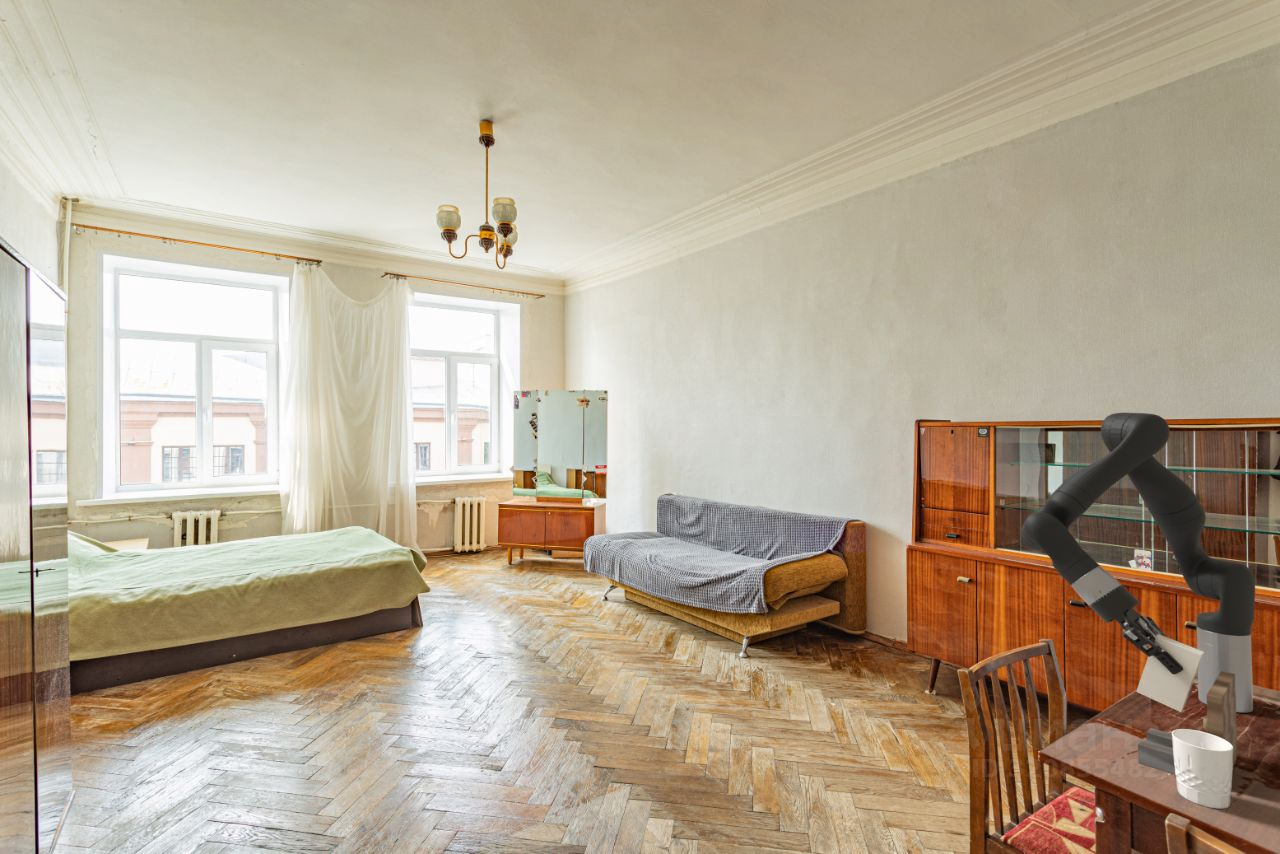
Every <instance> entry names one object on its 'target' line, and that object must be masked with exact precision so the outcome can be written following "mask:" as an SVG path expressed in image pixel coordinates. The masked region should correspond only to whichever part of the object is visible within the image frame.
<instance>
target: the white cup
mask: <svg viewBox="0 0 1280 854" xmlns="http://www.w3.org/2000/svg"><path fill="white" fill-rule="evenodd" d="M1171 734H1172V743H1173V756H1174V765H1175V774H1174V775H1175V776H1176V777H1175V779H1176V791H1178V793H1179V795H1180V796H1182V797H1183V798H1185V799H1186V800H1187V801H1190V802H1191V803H1195V804H1197V805H1199V806H1202V807H1207V808H1211V809H1219V810H1220V809H1221V810H1222V809H1227V808H1229V807H1230V805H1231V791H1232V785H1233V783H1232V782H1233V769H1234V766H1233V746H1232V744H1230V743H1229V742H1228V741H1226V740H1224V739H1222V738H1220V737H1218V736H1215V735H1212V734H1209V733H1208V732H1205V731H1201V730H1196V729H1187V728H1178V729H1177V728H1176V729H1174V730H1172V731H1171Z"/></svg>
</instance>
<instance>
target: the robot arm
mask: <svg viewBox="0 0 1280 854" xmlns="http://www.w3.org/2000/svg"><path fill="white" fill-rule="evenodd" d="M1170 430H1171V429H1170V426H1169V423H1168V421H1166V419H1164V418H1163V417H1162V416H1160V415H1157V414H1154V413H1147V412H1115V413H1112V414H1109V415H1108V416H1106V417H1105V418H1104V419H1103V421H1102V423H1101V425H1100V436H1101V439H1102V441H1103V443H1104V445H1105V446H1106V448H1107V450H1108V451H1109V453H1107V454H1106V455H1105V456H1103V457H1102V458H1099V459H1098V460H1096V461H1094V462H1092V463H1091V464H1089V465H1086V466H1085V467H1083V468H1081V469H1079V470H1077V471H1076V472H1074V473H1073V474H1071V475H1070V476H1068V477H1067V478H1066V479H1065V480H1064V481H1063V482H1062V483H1061V484H1060V485H1059V486H1058V487H1057V488H1056V489H1055V491H1053V492H1052V493H1051V495H1050V496H1049V497H1048V499H1047V500H1046V502H1045V503H1044V505H1043V506H1041V508H1040V509H1039V510H1037V512H1033V513H1031V514H1030V515H1028V516H1027V517H1026V519H1025V521H1024V522H1023V524H1022V526H1021V529H1020V538H1021V541H1022V543H1023V544H1024V545H1025V546H1026V547H1028V548H1030V549H1031V550H1034V551H1043V552H1044V553H1045V554H1046V555H1047V556H1048V557H1049V558H1050V559H1051V562H1052V563H1051V564H1052V566H1053V568H1054V569H1055V570H1056V573H1058V574H1059V575H1060V576H1061V577H1062V578H1063V580H1065V581H1066V582H1067V583H1068V584H1069V585H1070V586H1071V587H1072V588H1073V590H1074V591H1075V593H1077V595H1078V596H1079V597H1080V598H1081V599H1082V600H1083V601H1084V602H1085V603H1086V604H1087V605H1088V607H1090V608H1091V609H1092V610H1093V611H1094V612H1095V613H1096V614H1097V615H1098V617H1100V619H1102V621H1104V622H1105V623H1107V624H1109V623H1111V622H1113V621H1116V622H1117V623H1118V624H1119V626H1120V627H1121V629H1122V631H1123V632H1122V633H1121V636H1122V637H1123V638H1125V639H1126V640H1127V641H1128V642H1130V644H1132V645H1133V646H1135V647H1136V649H1138V650H1140V651H1141V652H1142V653H1143V654H1145V655H1146V656H1147V657H1148V656H1149V657H1150V656H1152V657H1154V658H1156V657H1157V659H1158V660H1159V661H1160V662H1161V663H1162V664H1163V665H1164V666H1165V667H1166V668H1167V669H1168V670H1169V671H1170V672H1171V673H1172V674H1177V673H1179V672H1181V671H1182V670H1183V667H1182V666H1181V665H1180V664H1179V663H1178V662H1177V661H1176V660H1175V659H1174V658H1173V657H1172V656H1171V655H1170V654H1169V653H1168V652H1166V650H1165V648H1164V647H1163V646H1162V645H1161V644H1160V643H1159V642H1158V641H1157V638H1158V637H1157V635H1158V634H1159V635H1162V636H1165V637H1167V636H1166V634H1165V633H1164V632H1163V631H1162V630H1161V628H1160V626H1158V625H1157V623H1156V622H1155V621H1154V619H1153V618H1151V617H1150V616H1145V615H1143V614H1141V613H1139V612H1138V611H1137V610H1135V609H1134V608H1135V607H1137V606H1138V605H1139V604H1140V602H1139V599H1137V598H1136V597H1135V596H1134V595H1133V593H1132V592H1130V591H1129V590H1128V589H1127V588H1126V587H1125V586H1124V585H1122V583H1121V582H1119V580H1118V579H1117V578H1116V577H1114V575H1113V574H1111V573H1110V572H1108V571H1107V570H1106V569H1105V568H1103V567H1102V566H1101V565H1100V564H1099V563H1098V562H1097V561H1096V560H1095V559H1094V558H1093V557H1091V555H1089V554H1088V553H1087V552H1086V551H1085V550H1084V549H1083V548H1082V547H1081V546H1080V544H1079V542H1078V541H1077V539H1075V537H1074V536H1073V535H1072V533H1071V531H1070V530H1069V528H1070V527H1071V526H1072V525H1073V523H1074V522H1076V521H1077V520H1078V519H1079V518H1080V517H1081V516H1082V515H1083V514H1085V513H1086V511H1087V510H1088V509H1090V507H1091V506H1092V505H1093V504H1094V503H1095V502H1096V501H1097V500H1098V499H1099V498H1100V497H1101V496H1102V495H1103V494H1104V493H1106V491H1108V490H1109V489H1110V488H1111V487H1113V485H1115V484H1116V483H1118V481H1120V480H1122V479H1123V478H1124V477H1126V476H1128V477H1129V480H1130V481H1131V483H1132V484H1133V486H1134V488H1135V489H1136V491H1137V492H1138V494H1139V496H1140V497H1141V499H1142V501H1143V502H1144V505H1145V507H1146V509H1147V510H1148V511H1149V514H1150V515H1151V517H1152V519H1153V520H1154V522H1155V523H1156V525H1157V527H1158V528H1159V530H1160V531H1161V532H1162V534H1163V536H1164V538H1165V540H1166V543H1167V544H1168V547H1169V548H1170V549H1171V552H1172V553H1173V556H1174V558H1175V560H1176V563H1177V565H1178V567H1179V570H1180V572H1181V575H1182V577H1183V579H1184V581H1185V583H1186V585H1187V586H1188V588H1189V589H1190V590H1191V591H1192V592H1193V593H1194V594H1196V595H1198V596H1201V597H1203V598H1208V599H1210V600H1211V599H1212V600H1215V601H1216V600H1217V601H1219V607H1218V610H1216V611H1211V612H1209V611H1208V612H1200V613H1198V614H1197V615H1196V645H1197V646H1196V647H1197V648H1196V649H1198V650H1200V651H1203V652H1204V654H1203V657H1202V659H1201V662H1200V665H1199V668H1198V671H1197V687H1198V688H1197V690H1198V691H1197V693H1198V700H1199V701H1200V702H1201V703H1203V704H1204V705H1207V693H1208V692H1209V690H1210V688H1211V687H1212V685H1213V684H1214V682H1215V680H1216V679H1217V677H1218V675H1219V674H1220V672H1221V671H1223V672H1227V673H1232V674H1235V689H1236V713H1251V712H1253V711H1254V701H1253V700H1254V697H1253V695H1254V694H1253V690H1254V689H1253V664H1252V663H1253V661H1252V660H1253V659H1252V657H1253V656H1252V625H1253V622H1254V620H1255V602H1256V601H1255V600H1256V581H1255V577H1254V574H1253V571H1252V570H1251V568H1249V567H1248V566H1247V565H1245V564H1242V563H1237V562H1232V561H1225V560H1220V559H1214V558H1211V557H1210V556H1209V555H1208V554H1207V553H1206V551H1205V549H1204V547H1203V545H1202V543H1201V536H1202V533H1203V530H1204V529H1205V524H1206V521H1207V519H1206V518H1207V517H1206V512H1205V510H1204V508H1203V506H1202V504H1201V502H1200V501H1199V499H1198V497H1197V495H1196V494H1195V492H1194V491H1193V489H1192V488H1191V487H1190V486H1189V485H1188V483H1186V482H1185V481H1184V480H1183V479H1181V478H1180V476H1178V475H1176V473H1174V472H1172V471H1171V470H1170V469H1168V468H1167V467H1166V466H1165V465H1163V464H1162V463H1160V461H1158V459H1156V457H1155V455H1156V454H1157V453H1158V452H1160V451H1161V450H1162V449H1163V448H1164V447H1165V446H1166V444H1167V442H1168V441H1169V437H1170V433H1171V431H1170Z"/></svg>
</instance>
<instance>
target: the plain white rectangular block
mask: <svg viewBox="0 0 1280 854" xmlns="http://www.w3.org/2000/svg"><path fill="white" fill-rule="evenodd" d="M1157 637H1158V638H1157V641H1158V642H1159V643H1160V644H1161V645H1162V646H1163V647H1164V648H1165V650H1166V652H1168V653H1169V654H1170V655H1171V656H1172V657H1173V658H1174V659H1175V660H1176V661H1177V662H1178V663H1179V664H1180V665H1181V666H1182V667H1183V670H1182V671H1181V672H1179V673H1177V674H1172V673H1171V672H1170V671H1169V670H1168V669H1167V668H1166V667H1165V666H1164V665H1163V664H1162V663H1161V662H1160V661H1159V660H1158V659H1157V657H1156V658H1154V657H1152V656H1150V657H1149V656H1147V659H1146V662H1145V665H1144V667H1143V671H1142V674H1141V677H1140V680H1139V683H1138V686H1137V689H1136V693H1138V694H1141V695H1143V696H1144V697H1147V698H1149V699H1151V700H1153V701H1156V702H1158V703H1160V704H1163V705H1164V706H1167V707H1168V708H1171V709H1173V710H1175V711H1177V712H1179V713H1182V712H1183V710H1184V709H1185V706H1186V704H1187V701H1188V698H1189V696H1190V693H1191V690H1192V687H1193V685H1194V682H1195V678H1196V675H1197V674H1198V668H1199V665H1200V662H1201V659H1202V657H1203V654H1204V652H1203V651H1200V650H1198V649H1197V648H1195V647H1194V646H1193V647H1192V646H1190V645H1188V644H1185V643H1182V642H1180V641H1177V640H1175V639H1172V638H1170V637H1168V636H1166V637H1165V636H1162V635H1159V634H1158V635H1157Z"/></svg>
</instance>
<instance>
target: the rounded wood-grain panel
mask: <svg viewBox="0 0 1280 854" xmlns="http://www.w3.org/2000/svg"><path fill="white" fill-rule="evenodd" d="M1202 720H1203V721H1202V723H1203V726H1202V727H1203V730H1204V731H1207V733H1209V734H1212V735H1215V736H1218V737H1220V738H1222V739H1224V740H1226V741H1228V742H1229V743H1230V744H1232V746H1233V767H1234V766H1235V764H1236V762H1237V758H1238V733H1237V728H1238V727H1237V712H1236V689H1235V674H1232V673H1227V672H1223V671H1221V672H1220V674H1219V675H1218V677H1217V679H1216V680H1215V682H1214V684H1213V685H1212V687H1211V688H1210V690H1209V692H1208V693H1207V704H1206V717H1203V718H1202ZM1137 754H1138V756H1137V757H1138V760H1137V761H1138V764H1140V765H1144V766H1148V767H1151V768H1154V769H1156V770H1161V771H1164V772H1167V773H1169V774H1173V775H1176V774H1175V765H1174V756H1173V743H1172V733H1170V732H1166V731H1163V730H1160V729H1159V730H1158V729H1155V728H1152V727H1149V729H1148V730H1147V731H1146V739H1140V741H1139V742H1138V743H1137Z"/></svg>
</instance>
